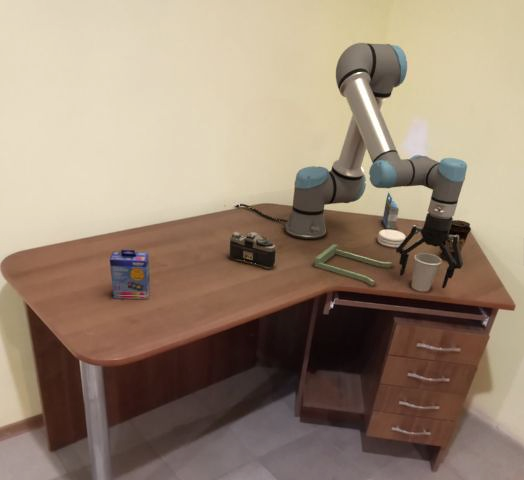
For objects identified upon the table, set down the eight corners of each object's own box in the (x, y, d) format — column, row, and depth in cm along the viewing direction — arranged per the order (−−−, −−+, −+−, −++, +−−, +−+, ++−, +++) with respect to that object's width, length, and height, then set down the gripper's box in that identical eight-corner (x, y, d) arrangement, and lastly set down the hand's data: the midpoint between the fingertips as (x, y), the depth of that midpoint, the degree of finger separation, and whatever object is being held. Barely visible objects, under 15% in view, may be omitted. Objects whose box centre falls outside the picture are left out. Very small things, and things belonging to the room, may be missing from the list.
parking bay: (312, 267, 171) (313, 259, 170) (334, 250, 185) (335, 242, 183) (372, 286, 163) (374, 277, 162) (391, 266, 177) (393, 258, 175)
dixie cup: (401, 285, 166) (408, 255, 160) (418, 279, 170) (425, 250, 164) (422, 295, 160) (430, 266, 155) (439, 289, 165) (447, 260, 159)
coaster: (374, 244, 192) (376, 235, 190) (380, 235, 200) (381, 227, 198) (401, 250, 190) (403, 241, 188) (405, 241, 197) (408, 232, 195)
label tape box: (395, 229, 207) (402, 199, 200) (385, 228, 207) (391, 198, 200) (391, 221, 214) (397, 192, 208) (381, 220, 214) (387, 191, 208)
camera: (282, 260, 175) (285, 231, 169) (269, 271, 167) (272, 242, 161) (240, 249, 180) (242, 221, 174) (226, 259, 172) (227, 230, 166)
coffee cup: (462, 264, 183) (473, 229, 176) (438, 260, 184) (448, 225, 177) (460, 254, 190) (470, 220, 183) (437, 251, 191) (446, 217, 184)
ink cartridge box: (112, 299, 144) (107, 250, 136) (115, 290, 149) (111, 242, 141) (148, 300, 145) (146, 252, 137) (150, 291, 150) (148, 244, 142)
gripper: (395, 208, 154) (381, 273, 166) (481, 228, 144) (459, 296, 156) (403, 202, 159) (388, 265, 171) (486, 221, 150) (465, 287, 162)
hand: (422, 280), depth 164 cm, fingers open, 13 cm apart
